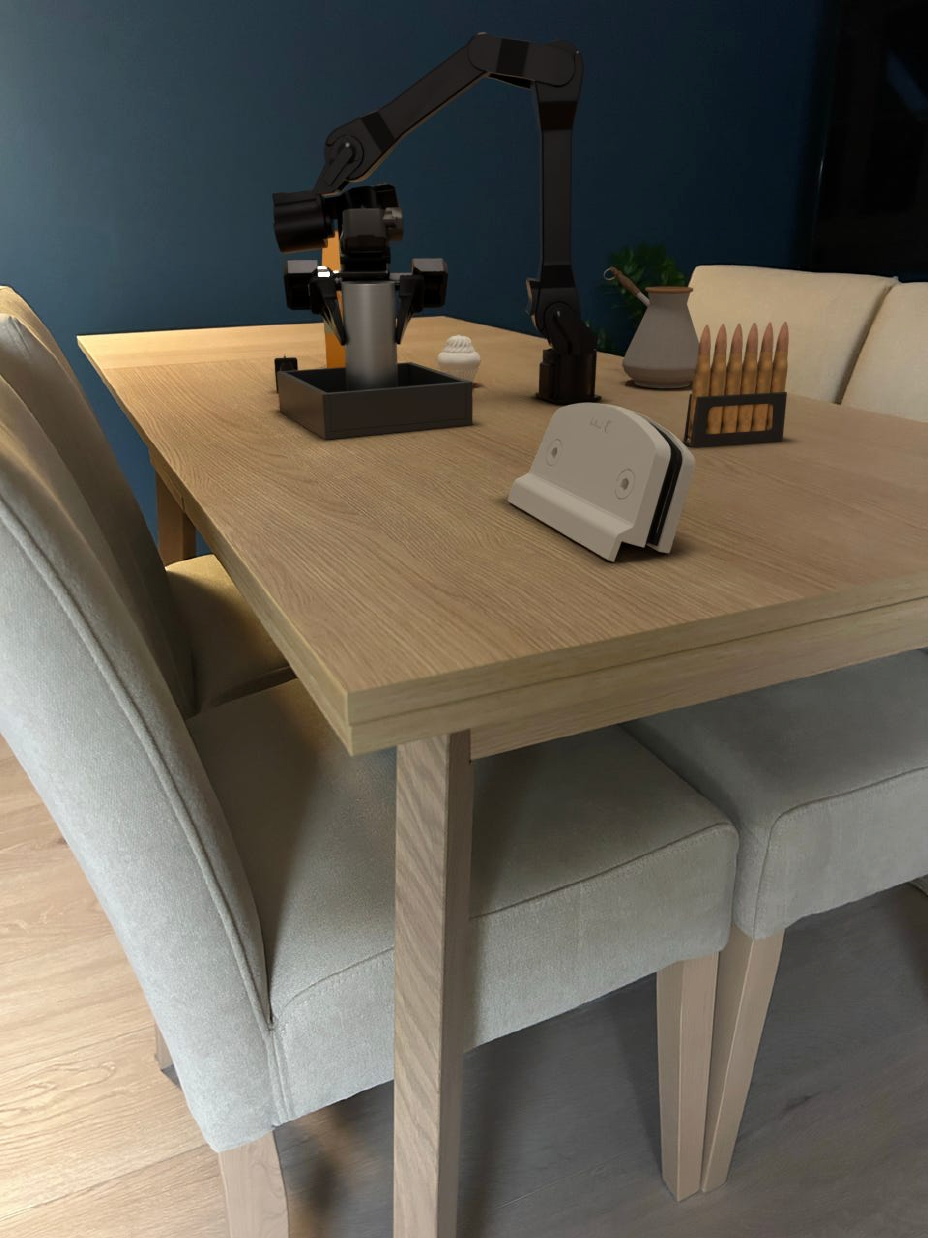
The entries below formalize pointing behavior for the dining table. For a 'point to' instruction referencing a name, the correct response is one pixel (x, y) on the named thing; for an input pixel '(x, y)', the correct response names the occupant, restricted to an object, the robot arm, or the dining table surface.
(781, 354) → the ammunition clip
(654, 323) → the coffee pot
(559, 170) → the robot arm
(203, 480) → the dining table surface
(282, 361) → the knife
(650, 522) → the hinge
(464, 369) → the muffin
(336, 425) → the bin
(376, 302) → the metal can
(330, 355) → the orange juice
